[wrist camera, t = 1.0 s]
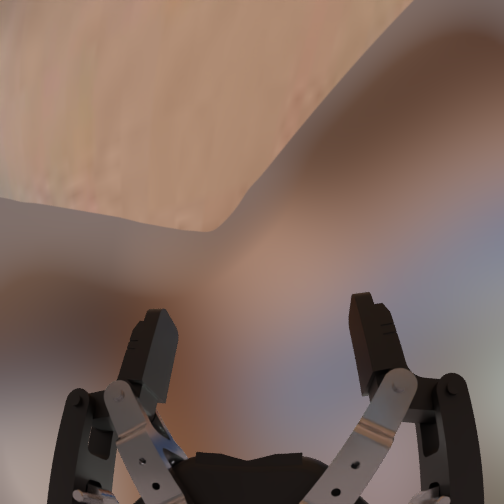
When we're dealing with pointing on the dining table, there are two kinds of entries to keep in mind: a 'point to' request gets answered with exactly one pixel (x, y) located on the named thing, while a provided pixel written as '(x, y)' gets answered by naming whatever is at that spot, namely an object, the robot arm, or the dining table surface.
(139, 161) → the dining table surface
